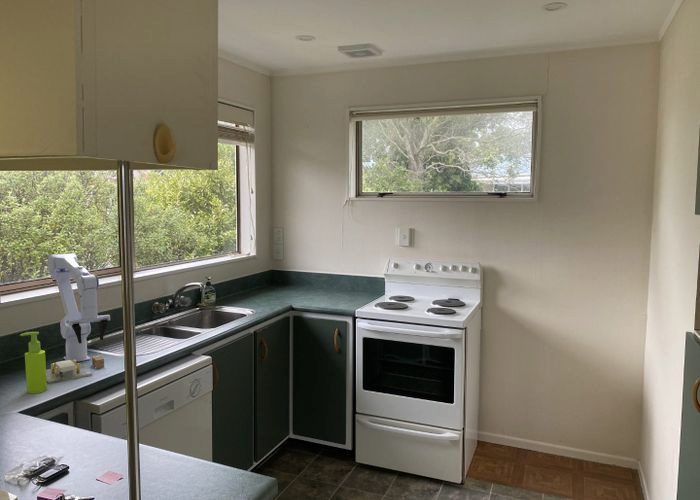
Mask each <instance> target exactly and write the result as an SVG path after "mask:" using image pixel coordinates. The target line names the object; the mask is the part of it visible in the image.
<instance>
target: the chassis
mask: <svg viewBox="0 0 700 500" xmlns="http://www.w3.org/2000/svg"><path fill="white" fill-rule="evenodd" d="M72 362H73V363H74V364H75V365H76V370H70V371H65V372H60V371H59V370H58V367H56V366H55V362H53V363H50V368H49V369H46V377H47V384H49V385H50V384H54V383H55V384H56V383H59V382H66V381H70V380H75V379H80V378H85V377H92V376H93V373H92V372H91V371H90V370H89V369H88V368H86V367H85V366H84V365H83V364H82V363H81V362H76V360H72Z"/></svg>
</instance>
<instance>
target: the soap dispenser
mask: <svg viewBox="0 0 700 500" xmlns="http://www.w3.org/2000/svg"><path fill="white" fill-rule="evenodd" d="M39 333H40V331H26V332H24V333H20V334H19V337H24V336H30V341H29V342H28V351H27V352H25V353H24V362H25V377H26V393H27V394H31V395H32V394H39V393H43V392H45V391H47V390H48V382H47V377H46V370H47V366H46V365H47V364H46V351H45V350H44V349H43V350H42V349H41V341H40V340H38V335H39Z"/></svg>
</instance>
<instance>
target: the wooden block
mask: <svg viewBox="0 0 700 500" xmlns="http://www.w3.org/2000/svg"><path fill="white" fill-rule="evenodd" d="M91 363H92V364H91V365H92V366H93V367H94V368H95V369H102V368H105V358H103V357H102V356H101V355H95V356H91Z"/></svg>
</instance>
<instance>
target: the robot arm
mask: <svg viewBox="0 0 700 500" xmlns="http://www.w3.org/2000/svg"><path fill="white" fill-rule="evenodd" d="M47 269H48V271H49V274H50V277H51V278H53V279H55V281H56V284H57V289H58V292H59V295H60V299H61V300H60V301H61V303H62V307H63V310H64V315H65V316H64V317H63V318H62V319H61V320H60V323H59V325H60V334H61V336H62V338H63V339H65V340H66V341H65V355H66V356H64V357H63V359H64V361H66V360H71V361H72V360H76V363H79V362H83V361H89V360H91V357H90V356H88V345H87V338H88V336H89V335H90V334H91V331H92V327H91V323H98V330H99V335H98V337H99V340H100V341H103V340H104V335H105V333H106V329H107V327H108V325H109V321H111V315H110V314H103V315H99V314H98V297H97V296H98V295H97V289H99V286H100V280H99V277H98V275H97V274H96V273H94V274H93V273H92V274H91V273H90V272H89V271H88V270H87V269H86V268H85V267H84V266H83V265H79V263H78V257H77V254H75V253H74V252H71V253H62V254H61V253H60V254H49V256H48V257H47ZM70 278H72V279H73V281H74V282H76V287H77V292H78V295H79V296H80V297H79V300H80V301H79V302H80V303H79V304H80V311H79V308H78V304H77V301H76V298H75V293H74V291H73V286H72V282H71V279H70Z"/></svg>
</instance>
